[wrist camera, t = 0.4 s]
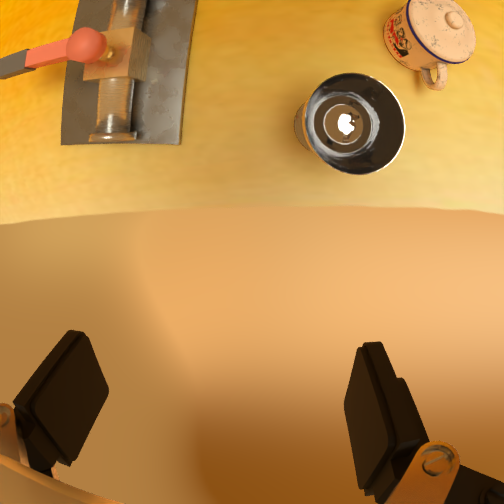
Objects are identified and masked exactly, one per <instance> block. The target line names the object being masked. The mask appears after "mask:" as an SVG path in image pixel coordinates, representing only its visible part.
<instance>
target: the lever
mask: <svg viewBox="0 0 504 504" xmlns="http://www.w3.org/2000/svg"><path fill="white" fill-rule="evenodd" d="M106 47H107V39H106V37H105V35H104V34H102V33H100V32H98V31H96V30H93V29H91V28H89V27H83V28H80V29H78V30H77V31H75V32H74V33H73V34H72V35H71V37H70V38H68V39H64V40H60V41H57V42H53V43H49V44H46V45H43V46H39V47H36V48H33V49H25V50H22V51H19V52H17V53H14V54H11V55H9V56H6V57H4V58H1V59H0V79H7V78H10V77H13V76H17V75H20V74H23V73H27V72H30V71H34V70H36V68H39V67H42V66H46V65H50V64H55V63H59V62H63V61H68V60H74V61H78V62H82V63H86V64H90V63H94V62H96V61H97V60H98V59H100V58H101V56H102V55H103V54H104V52H105V50H106Z"/></svg>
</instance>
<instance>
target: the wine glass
mask: <svg viewBox="0 0 504 504" xmlns="http://www.w3.org/2000/svg"><path fill="white" fill-rule="evenodd" d="M294 129H295V133H296V136H297V138H298V140H299V141H300V143H301V144H302V145H303V146H304V147H305V148H306V149H308V150H309V151H311V152H314V153H315V155H316V156H317V157H318V158H320V159H321V160H322V161H323V162H324V163H326V164H327V165H329V166H330V167H332V168H334V169H336V170H338V171H341V172H344V173H348V174H352V175H365V174H370V173H374V172H377V171H379V170H381V169H383V168H384V167H386V166H387V165H388V164H389V163H391V162H392V160H393V159H394V158H395V157H396V156H397V154H398V152H399V151H400V149H401V146H402V144H403V140H404V135H405V120H404V115H403V111H402V108H401V106H400V104H399V102H398V100H397V98H396V97H395V96H394V94H393V93H392V92H391V91H390V90H389V89H388V88H387V87H386V86H385V85H384V84H383V83H381V82H380V81H378V80H377V79H375V78H373V77H371V76H367V75H364V74H360V73H343V74H339V75H335V76H333V77H331V78H329V79H327V80H325V81H324V82H322V83H321V84H320V85H318V86H317V87H316V89H315V90H314V91H313V92H312V93H311V95H310V96H309V98H308V99H307V101H306V103H304V104H303V105H302V106H301V107H300V108H299V110H298V111H297V113H296V116H295V120H294Z"/></svg>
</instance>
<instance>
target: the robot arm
mask: <svg viewBox="0 0 504 504" xmlns="http://www.w3.org/2000/svg"><path fill="white" fill-rule="evenodd" d="M108 394H109V388H108V385H107V383H106V381H105V378H104V376H103V373H102V371H101V368H100V366H99V363H98V361H97V358H96V356H95V353H94V350H93V348H92V345H91V342H90V340H89V338H88V337H87V336H86V335H85V333H84V332H81V331H74V330H69V331H68V332H67V333H66V334H65V335H64V336H63V337H62V339H61V340H60V341H59V342H58V344H57V345H56V346H55V347H54V348H53V350H52V351H51V352H50V353H49V355H48V356H47V357H46V359H45V360H44V361H43V362H42V364H41V365H40V366H39V367H38V369H37V370H36V371H35V372H34V374H33V375H32V376H31V378H30V379H29V380H28V382H27V383H26V384H25V386H24V387H23V388H22V390H21V391H20V392H19V394H18V395H17V396H16V398H15V399H14V401H13V403H14V405H15V408H14V409H13V408H12V407H11V406H10V405H8V404H5V403H0V504H124V503H120V502H117V501H113V500H110V499H107V498H103V497H101V496H97V495H95V494H92V493H89V492H86V491H83V490H80V489H78V488H75V487H73V486H70V485H68V484H65V483H63V482H61V481H60V480H59V477H58V474H57V471H56V467H55V463H56V461H58V462H59V463H61V464H64V465H67V466H69V467H70V466H71V463H72V461H75V460H76V459H77V457H78V455H79V453H80V451H81V449H82V447H83V444H84V442H85V440H86V438H87V436H88V434H89V432H90V430H91V428H92V426H93V424H94V422H95V420H96V418H97V416H98V414H99V412H100V410H101V408H102V406H103V404H104V402H105V400H106V399H107V397H108ZM344 411H345V416H346V421H347V426H348V431H349V436H350V442H351V447H352V453H353V458H354V464H355V470H356V475H357V481H358V486H359V489H364V492H365V496H370V495H374V496H375V502H376V503H378V504H504V483H503V482H501V481H499V480H496V479H494V478H491V477H489V476H486V475H484V474H481V473H479V472H477V471H474V470H472V469H470V468H467V467H465V466H463V465H460V457H459V454H458V452H457V450H456V449H455V448H454V447H453V446H452V445H450V444H449V443H447V442H443V441H431V442H430V441H429V439H428V436H427V433H426V431H425V428H424V426H423V423H422V420H421V418H420V415H419V413H418V410H417V408H416V405H415V403H414V401H413V398H412V396H411V393H410V391H409V388H408V386H407V384H406V382H405V380H404V379H403V378H397V377H396V375H395V372H394V370H393V367H392V365H391V363H390V360H389V358H388V356H387V353H386V351H385V349H384V346H383V344H382V343H381V342H365V343H364V344H363V346H362V347H358V349H357V352H356V356H355V360H354V365H353V369H352V373H351V377H350V381H349V385H348V389H347V392H346V396H345V400H344Z"/></svg>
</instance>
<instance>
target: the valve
mask: <svg viewBox="0 0 504 504" xmlns="http://www.w3.org/2000/svg"><path fill="white" fill-rule="evenodd" d="M197 2H198V0H79V4H78V8H77V13H76V17H75V22H74V26H73V31H72V34H73V33H74V32H75V31H77V30H78V29H80V28H83V27H89V28H91V29H93V30H96V31H98V32H100V33H102V34H104V35H105V37H106V39H107V47H106V50H105V52H104V54H103V55H102V56H101V58H100V59H98V60H97V61H96V62H94V63H90V64H86V63H82V62H78V61H74V60H68V61H67V68H66V76H65V85H64V95H63V107H62V123H61V145H75V144H107V143H146V144H181V134H182V121H183V110H184V100H185V90H186V80H187V72H188V63H189V55H190V48H191V41H192V34H193V27H194V20H195V14H196V8H197Z"/></svg>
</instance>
